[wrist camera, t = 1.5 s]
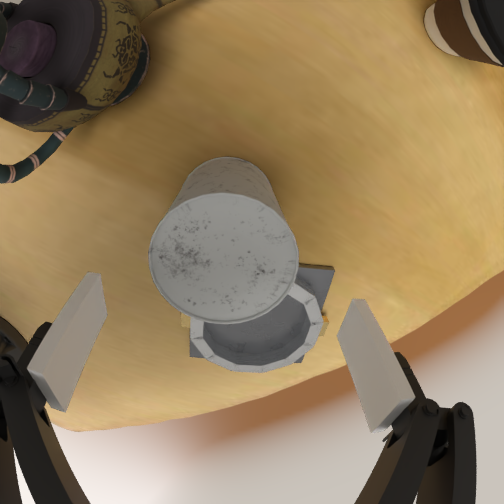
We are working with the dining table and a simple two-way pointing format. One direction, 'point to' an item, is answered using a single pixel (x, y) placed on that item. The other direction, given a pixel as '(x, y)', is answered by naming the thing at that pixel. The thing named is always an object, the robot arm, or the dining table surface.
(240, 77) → the dining table surface
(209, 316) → the grey speckled cylinder
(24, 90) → the teapot
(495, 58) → the coffee cup
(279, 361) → the socket
